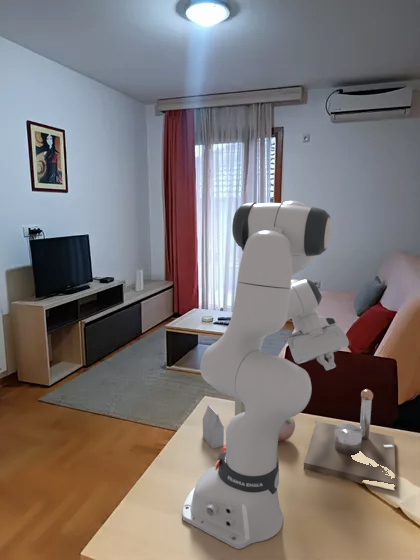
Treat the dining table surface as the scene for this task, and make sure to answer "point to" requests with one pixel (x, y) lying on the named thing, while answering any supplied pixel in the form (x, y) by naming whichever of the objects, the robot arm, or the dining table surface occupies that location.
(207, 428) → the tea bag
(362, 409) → the crank handle
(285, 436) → the decorative fruit
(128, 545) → the dining table surface
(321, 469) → the stand
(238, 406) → the skincare box
